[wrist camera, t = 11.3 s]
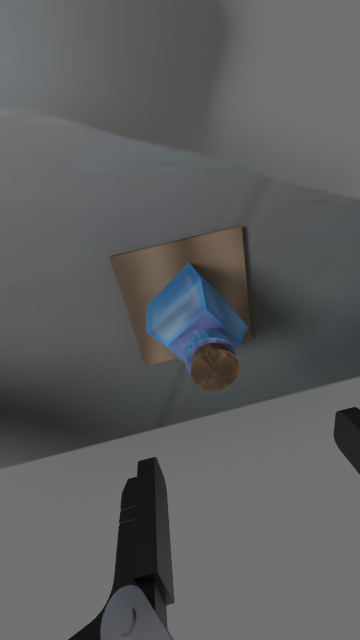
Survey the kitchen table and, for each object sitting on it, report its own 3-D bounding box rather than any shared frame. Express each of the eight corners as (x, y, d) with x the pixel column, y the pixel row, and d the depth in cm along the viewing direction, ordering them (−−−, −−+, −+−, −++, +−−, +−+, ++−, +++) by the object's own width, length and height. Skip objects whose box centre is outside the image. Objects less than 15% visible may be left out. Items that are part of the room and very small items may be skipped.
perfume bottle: (227, 302, 27) (281, 366, 16) (187, 339, 28) (211, 422, 17) (188, 262, 24) (220, 305, 13) (146, 305, 26) (144, 375, 15)
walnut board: (146, 362, 29) (146, 366, 29) (111, 256, 24) (109, 257, 23) (249, 337, 30) (252, 340, 29) (238, 225, 24) (241, 226, 23)
